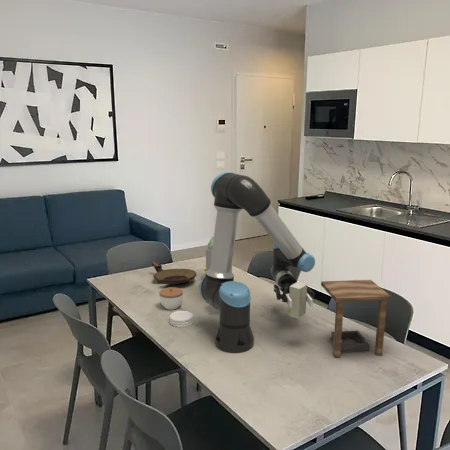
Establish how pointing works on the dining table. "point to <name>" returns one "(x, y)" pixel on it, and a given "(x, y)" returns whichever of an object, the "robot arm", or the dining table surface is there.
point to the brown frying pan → (173, 275)
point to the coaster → (181, 318)
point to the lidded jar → (171, 297)
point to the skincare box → (298, 299)
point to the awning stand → (352, 293)
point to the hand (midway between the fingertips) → (301, 303)
